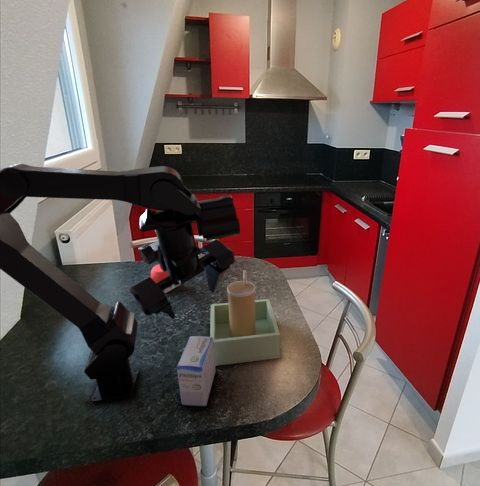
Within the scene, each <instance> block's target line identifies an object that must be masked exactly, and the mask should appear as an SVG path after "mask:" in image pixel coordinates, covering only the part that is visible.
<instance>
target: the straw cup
mask: <svg viewBox="0 0 480 486" xmlns="http://www.w3.org/2000/svg"><path fill="white" fill-rule="evenodd" d="M242 273H243V274H242V275H243V280H237V281H233V282H231V283H230V284H228V286H227V287H226V290H227V301H228V302H227V303H228V304H229V320H230V336H231V338H233V337H242V336H252V335H256V326H255V300H256V295H255V294H256V285H255V284H254V283H252V282H251V281H248V273H247V270H246V269H244V270H243V272H242Z"/></svg>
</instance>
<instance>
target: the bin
mask: <svg viewBox="0 0 480 486" xmlns="http://www.w3.org/2000/svg"><path fill="white" fill-rule="evenodd" d="M273 311H274V310H273V307H272V304H271V301H270V299H269V298H265V299H255V326H256V335H252V336H242V337H233V338H231V336H230V320H229V304H228V302H222V303H221V302H220V303H213V304H210V326H209V327H210V331H209V332H210V333H209V334H210V335H209V337H213V341H214V355H215V367H218V366H226V365H235V364H241V363H242V364H243V363H249V362H257V361H258V362H259V361H267V360H274V359H275V360H276V359H280V358H281V334H280V330H279V327H278V324H277V320H276V317H275V314H274V312H273Z"/></svg>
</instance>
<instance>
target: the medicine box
mask: <svg viewBox="0 0 480 486" xmlns="http://www.w3.org/2000/svg"><path fill="white" fill-rule="evenodd" d="M177 363H178V364H177V365H176V372H177V379H178V387H179V394H180V396H179V397H180V403H181V405H183V406H193V407H194V406H195V407H206V406H207V405H208V401H209V398H210V394H211V391H212V390H211V389H212V387H213V382H214V378H215V374H216V366H215V355H214V341H213V337H210V336H205V335H203V336H202V335H198V336H197V335H190V336H189V338H188V340H187V343H186V345H185V347H184V349H183V352H182V354H181V356H180V359H179V361H178V362H177Z"/></svg>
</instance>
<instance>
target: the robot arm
mask: <svg viewBox="0 0 480 486" xmlns="http://www.w3.org/2000/svg"><path fill="white" fill-rule="evenodd" d="M27 198H43V199H44V198H45V199H46V198H47V199H48V198H49V199H74V200H75V199H76V200H101V201H120V202H125V203H128V204H131V205H135V206H136V207H140V208H145V212H144V213H143V214H141V215H140V217H139V231H140V232H142V233H144V232H145V233H146V232H149V231H154V232H155V235H156V239H157V240H156V241H154V242H152V243H150V244H148V243H146V244H144V245H142V246H140V247H138V248H137V250H138V253H139V255H140V257H141V260H142V262H143V263H144V264H146V265H149V266H150V265H152V264H154V263H158V264H159V265H160V268H161V269H162V270H163V271H164V272H165V271H167V272H168V275H169V276H168V277H166V278H164V279H163V280H161V281H159V282H158V283H155V282H154V281H153V280H152V278H151V275H150V276H148V277H146V278H144V279H142V280H140V281H139V282H137V283H135V284H133V285H132V286H130V287H129V289H128V293H129V295H130V297H131V299H132V301H134V303H135V304H136V305H137V307H139V309H140V310H141V311H142V312H143V313H144V315H145V316H152V315H153V314H154V315H155V314H156V315H157V314H159V313H163V314H165V315H167V316H168V317H170V318H171V319H172V320H175V319H176V314H175V311H174V309H173V306H172V304H171V302H170V301H169V299H168V296H167V295H166V294H167V293H169V292H171V291H172V290H175V289H176V288H177V287H179V286H182V285H184V284H185V283H187V282H188V281H190V280H192V279H194V278H195V277H196V276H198V275H201V274H202V273H203V272H205V273H206V280H207V285H208V289H209V292H211V293H215V292H216V291H217V290H216V289H217V288H218V286H219V284H220V282H221V280H222V279H223V277H224V275H225V274H226V273H227V271H228V270H229V269H230V268H231V266H232V265H233V264H235V261H236V258H235V252H234V251H233V249H231V248H230V247H229V246H228V245H226V244H225V243H223V242H222V241H220V240H218V239H223V238H224V239H225V238H228V237H229V238H230V237H234V236H240V235H241V226H240V219H239V217H238V215H237V214H238V213H237V211H236V207H235V204H234V198H233V197H232V195H231V194H225V195H224V194H223V195H221V196H219V197H215V198H214V197H212V198H208V199H202V200H199V199H198V197H197V196H196V194H195V193H192V192H191V191H190V190H189V189H188V188H187V187H186V186H185V185H184V181H183V178H182V176H181V174H180V173H179V172H178V171H177V170H176V169H175V168H173V167H170V166H166V165H159V166H151V167H150V166H149V167H141V168H136V169H130V170H122V171H121V170H120V171H117V170H115V171H113V170H99V169H81V168H65V167H62V168H61V167H50V166H34V165H33V166H32V165H28V164H25V163H16V164H13V165H10V166H7V167H4V168H2V169H0V270H1V271H2V272H3V273H5V274H6V275H8V276H9V277H10V278H11V279H13V280H14V281H16V282H17V283H18V284H19V285H20V286H22V287H23V288H24V289H26V290H27V291H29V292H30V293H32V295H34V296H36V297H37V298H38V299H39V300H41V301H42V302H43V303H45V304H46V305H48V306H49V307H50V308H51V309H52V310H54V311H55V312H57V313H58V314H59V315H61V317H63V318H65V319H66V320H68V321H69V322H70V323H72V325H74V326H76V327H77V329H78V330H79V331H80V333H81V334H82V337H83V340H84V341H85V343H86V345H87V347H88V348H89V349H90V352H89V355H88V358H87V361H86V365H85V367H84V370H83V372H84V375H86V376H87V377H88V379H89V380H91V381H92V380H95V382H96V388H95V390H94V392H93V395H92V397H91V403H92V404H94V403H95V404H96V403H102V402H110V401H117V400H118V401H119V400H125V399H129V398H130V399H131V397H132V396H133V393H134V389H135V386H136V383H137V380H138V377H139V370H138V369H132V367H131V363H130V357H131V356H132V355H133V354H134V352H135V347H136V341H137V335H138V327H139V325H138V321H137V318H136V313H135V312H133V311H131V310H129V309H127V307H126V306H125V305H124V303H122V302H121V301H117V302H116V303H115V304H114V305H108V304H104V303H102V302H100V301H99V300H98V299H96V298H95V297H94V295H92V294H91V293H89V292H88V291H87V290H86V289H84V288H83V287H82V286H81V285H79V284H78V283H77V282H76V281H75V280H74V279H72V278H71V277H70V276H69V275H67V274H66V272H64V271H63V270H61V269H60V268H59V267H58V266H56V265H55V264H54V263H53V262H52V261H50V260H49V259H48V258H47V257H46V256H45V255H43V254H42V253H41V252H40V251H38V250H37V249H36V247H33V246H32V245H31V244H30V243H29V242H28V240H27V238H26V236H25V233H24V232H23V230H22V227H21V226H20V224H19V222H18V221H17V220H16V219H15V218H14V216H13V215H12V214H11V213H13V212H14V211H15V210H16V209H17V208H18V207H19V206H20V205H21V204H22V203H23V202H24V201H25V200H26V199H27ZM192 223H195V225H196V230H197V236H198V237H202V239H203V240H206V242H207V241H211V242H209V243H207V244H205V245H204V246H202V247H199V246H198V245H197V243H196V238H195V233H194V229H193V224H192ZM212 240H213V241H212Z"/></svg>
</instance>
